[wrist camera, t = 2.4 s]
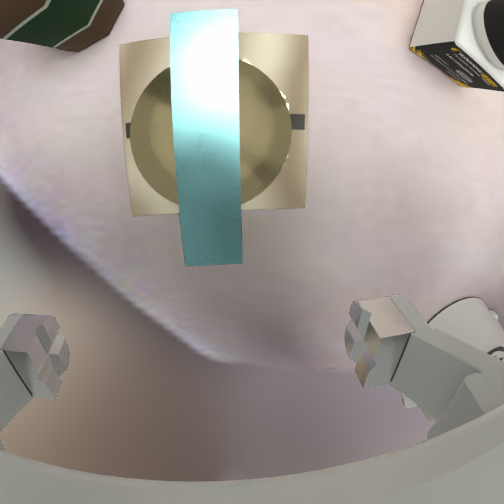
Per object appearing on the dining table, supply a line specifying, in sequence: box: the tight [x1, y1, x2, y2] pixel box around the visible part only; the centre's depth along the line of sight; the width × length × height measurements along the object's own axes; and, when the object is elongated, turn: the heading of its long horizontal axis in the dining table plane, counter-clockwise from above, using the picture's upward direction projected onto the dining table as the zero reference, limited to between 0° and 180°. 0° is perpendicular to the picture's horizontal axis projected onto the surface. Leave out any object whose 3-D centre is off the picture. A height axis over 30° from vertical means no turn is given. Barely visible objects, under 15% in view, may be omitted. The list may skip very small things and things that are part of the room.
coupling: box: [130, 9, 292, 266], centre depth 16 cm, size 8×11×10 cm
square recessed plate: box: [120, 33, 308, 216], centre depth 20 cm, size 14×14×6 cm
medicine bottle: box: [410, 0, 504, 92], centre depth 15 cm, size 7×7×12 cm
